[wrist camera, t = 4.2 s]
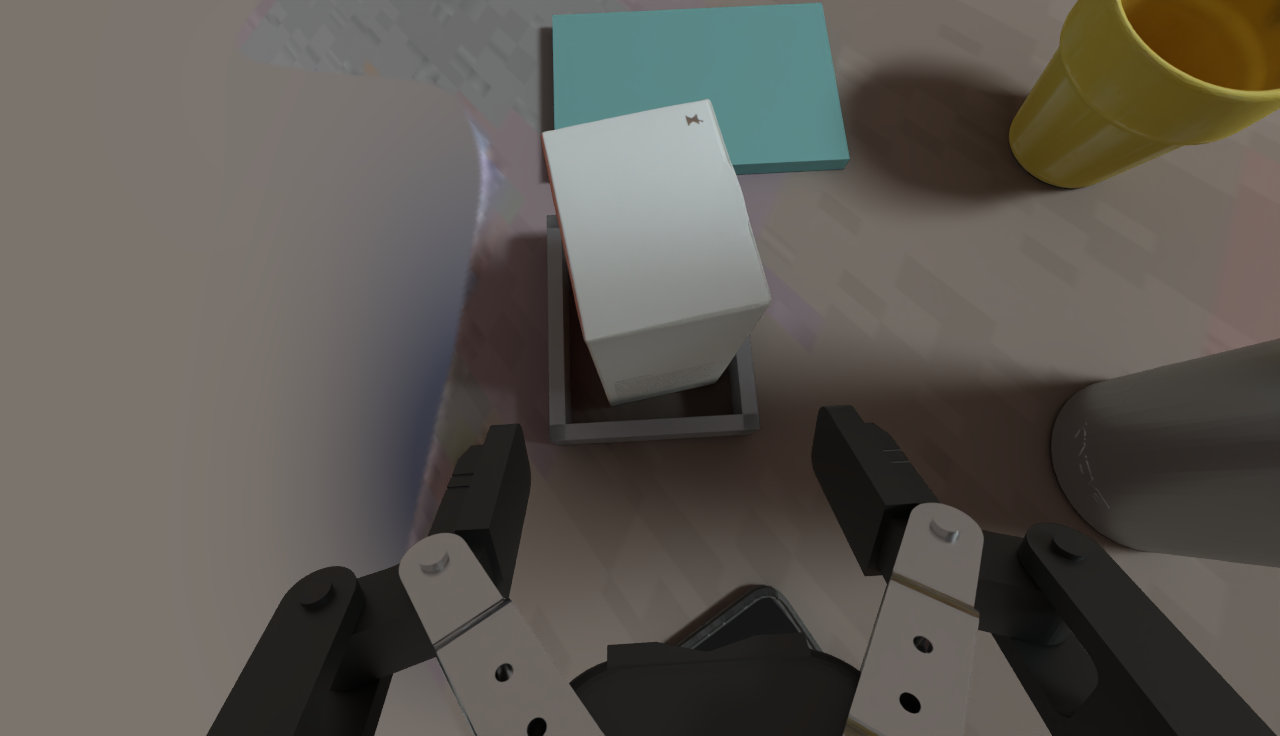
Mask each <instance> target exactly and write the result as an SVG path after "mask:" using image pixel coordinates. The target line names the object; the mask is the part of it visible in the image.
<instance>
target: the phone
mask: <svg viewBox="0 0 1280 736" xmlns="http://www.w3.org/2000/svg"><path fill="white" fill-rule="evenodd" d="M742 596H743V597H742ZM742 596H740V597H739V598H738V599H736V600H735V601H734V602H732V603H731V604H730V605H728V606H727V607H725V608H724V609H723V610H721V611H720V612H719V613H717V614H716V615H715V616H713V617H712V618H711V619H709V620H708V621H707V622H705V623H704V624H703V625H701V626H700V627H699V628H697V629H696V630H695V631H693V632H692V633H691V634H689V635H688V636H687V637H685V638H684V639H682V640H681V641H680V642H678V643H677V644H676V645H674V646H679V647H685V648H690V649H695V650H700V651H712V650H715V649H718V648H721V647H724V646H727V645H729V644H732V643H735V642H738V641H741V640H744V639H747V638H749V637H752V636H755V635H769V634H784V633H799V632H804V635H805V638H806V641H807V644H808V647H809V649H813V650H817V651H821V652H823V651H822V650H821V649H820V647H819V646H818V644H817V643H816V641H815V640H814V638H813V637H812V635H811V634H810V632H809V631H808V630H807V628H806V627H805V625H804V624H803V622H802V621H801V619H800V618H799V616H798V615H797V613H796V612H795V610H794V609H793V608H792V606H791V605H790V603H789V602H788V600H787V599H786V598H785V597H784V595H783V594H782V593H781V592H779V591H778V590H776V589H774V588H773V587H771V586H767V585H759V586H755V587H753V588H751V589H750V590H748V591H747V592H746V593H744V594H743V595H742ZM741 597H742V598H741Z"/></svg>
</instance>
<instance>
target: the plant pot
mask: <svg viewBox="0 0 1280 736" xmlns="http://www.w3.org/2000/svg"><path fill="white" fill-rule="evenodd" d="M1279 108H1280V0H1078V1H1077V3H1076V4H1075V5H1074V7H1073V8H1072V9H1071V11H1070V12H1069V14H1068V16H1067V18H1066V20H1065V22H1064V25H1063V28H1062V31H1061V36H1060V46H1059V48H1058V49H1057V51H1056V52H1055V54H1054V56H1053V57H1052V59H1051V60H1050V62H1049V64H1048V65H1047V67H1046V68H1045V70H1044V71H1043V73H1042V75H1041V76H1040V78H1039V79H1038V81H1037V83H1036V84H1035V86H1034V87H1033V89H1032V90H1031V92H1030V94H1029V95H1028V97H1027V98H1026V100H1025V101H1024V103H1023V105H1022V106H1021V108H1020V109H1019V111H1018V112H1017V114H1016V116H1015V117H1014V119H1013V121H1012V123H1011V126H1010V131H1009V143H1010V147H1011V149H1012V152H1013V154H1014V156H1015V157H1016V159H1017V160H1018V162H1019V163H1020V164H1021V166H1022V167H1023V168H1024V169H1025V170H1026V171H1028V172H1029V173H1030V174H1031V175H1033V176H1034V177H1036V178H1038V179H1039V180H1041V181H1043V182H1045V183H1048V184H1051V185H1054V186H1058V187H1064V188H1081V187H1087V186H1090V185H1094V184H1096V183H1098V182H1101V181H1103V180H1106V179H1108V178H1110V177H1113V176H1115V175H1117V174H1120V173H1122V172H1124V171H1126V170H1129V169H1131V168H1133V167H1136V166H1138V165H1140V164H1143V163H1145V162H1147V161H1150V160H1152V159H1154V158H1156V157H1159V156H1161V155H1163V154H1166V153H1168V152H1170V151H1173V150H1175V149H1177V148H1180V147H1182V146H1184V145H1198V144H1205V143H1210V142H1214V141H1217V140H1221V139H1224V138H1226V137H1228V136H1231V135H1233V134H1235V133H1237V132H1239V131H1241V130H1242V129H1244V128H1246V127H1248V126H1250V125H1252V124H1253V123H1255V122H1257V121H1259V120H1260V119H1262V118H1264V117H1266V116H1267V115H1269V114H1271V113H1273V112H1274V111H1276V110H1278V109H1279Z"/></svg>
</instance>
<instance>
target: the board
mask: <svg viewBox="0 0 1280 736" xmlns="http://www.w3.org/2000/svg"><path fill="white" fill-rule="evenodd" d="M552 18H553V73H554V128H555V130H556V129H561V128H565V127H570V126H574V125H579V124H584V123H589V122H594V121H599V120H603V119H608V118H613V117H618V116H622V115H627V114H632V113H637V112H642V111H647V110H652V109H657V108H662V107H668V106H673V105H678V104H684V103H690V102H696V101H701V100H705V99H709V100H710V101H711V103H712V106H713V109H714V113H715V116H716V119H717V122H718V125H719V128H720V131H721V134H722V137H723V140H724V143H725V146H726V149H727V152H728V156H729V158H730V161H731V164H732V166H733V168H734V170H735V173H736V175H737V174H756V173H776V172H796V171H816V170H836V169H844V167H845V166H846V164H847V163H848V161H849V159H850V157H849V152H848V146H847V141H846V135H845V130H844V124H843V118H842V113H841V107H840V102H839V96H838V90H837V85H836V79H835V74H834V68H833V63H832V57H831V51H830V46H829V40H828V35H827V29H826V23H825V18H824V12H823V7H822V3H807V4H785V5H764V6H742V7H721V8H699V9H678V10H656V11H634V12H613V13H591V14H570V15H552Z"/></svg>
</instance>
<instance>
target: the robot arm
mask: <svg viewBox="0 0 1280 736" xmlns="http://www.w3.org/2000/svg"><path fill="white" fill-rule="evenodd" d="M1051 453H1052V460H1053V467H1054V470H1055V473H1056V476H1057V479H1058V481H1059V484H1060V486H1061V488H1062V490H1063V492H1064V493H1065V495H1066V497H1067V499H1068V500H1069V502H1070V504H1071V505H1072V506H1073V507H1074V508H1075V510H1076V511H1077V512H1078V513H1079V514H1080V516H1081V517H1082V518H1083V519H1084V520H1085V521H1086V522H1087V523H1089V524H1090V525H1091V526H1092V527H1093V528H1095V529H1096V530H1097V531H1098V532H1099V533H1101V534H1103V535H1104V536H1106V537H1108V538H1110V539H1111V540H1113V541H1115V542H1116V543H1119V544H1121V545H1124V546H1127V547H1130V548H1133V549H1135V550H1141V551H1147V552H1154V553H1162V554H1171V555H1179V556H1188V557H1196V558H1204V559H1213V560H1221V561H1228V562H1235V563H1244V564H1252V565H1261V566H1269V567H1278V568H1280V338H1279V339H1275V340H1271V341H1267V342H1263V343H1259V344H1255V345H1250V346H1246V347H1242V348H1238V349H1234V350H1230V351H1226V352H1221V353H1217V354H1213V355H1209V356H1205V357H1201V358H1197V359H1193V360H1188V361H1184V362H1180V363H1176V364H1171V365H1166V366H1162V367H1158V368H1154V369H1150V370H1146V371H1142V372H1138V373H1134V374H1130V375H1126V376H1122V377H1118V378H1114V379H1110V380H1106V381H1102V382H1098V383H1095V384H1091V385H1089V386H1087V387H1085V388H1083V389H1082V390H1080V391H1078V392H1076V393H1075V394H1074V395H1073V396H1072V397H1071V398H1070V399H1069V400H1068V401H1067V402H1066V403H1065V404H1064V406H1063V408H1062V409H1061V411H1060V413H1059V414H1058V416H1057V418H1056V421H1055V425H1054V428H1053V431H1052V442H1051ZM811 458H812V466H813V470H814V473H815V475H816V477H817V479H818V481H819V483H820V485H821V487H822V490H823V492H824V494H825V496H826V498H827V500H828V502H829V504H830V506H831V508H832V510H833V512H834V514H835V516H836V518H837V520H838V522H839V524H840V526H841V528H842V530H843V533H844V535H845V537H846V539H847V541H848V543H849V545H850V547H851V549H852V551H853V553H854V555H855V557H856V559H857V561H858V563H859V565H860V567H861V569H862V571H863V573H864V576H878V575H883V577H884V579H885V581H886V583H887V586H886V589H885V592H884V595H883V598H882V601H881V605H880V608H879V611H878V614H877V617H876V621H875V624H874V627H873V630H872V633H871V637H870V640H869V643H868V646H867V649H866V652H865V656H864V659H863V662H862V665H861V668H860V671H859V670H857V669H856V668H854V667H853V666H851V665H849V664H848V663H846V662H844V661H842V660H841V659H838V658H836V657H834V656H832V655H829V654H827V653H824V652H821V651H817V650H813V649H809V647H808V644H807V641H806V638H805V635H804V632H799V633H784V634H769V635H755V636H752V637H749V638H747V639H744V640H741V641H738V642H735V643H732V644H729V645H727V646H724V647H721V648H718V649H715V650H712V651H700V650H695V649H690V648H685V647H679V646H674V645H669V644H664V643H659V642H648V643H633V644H617V645H607V661H606V662H603V663H601V664H598V665H596V666H594V667H592V668H590V669H588V670H586V671H585V672H583V673H582V674H580V675H579V676H577V677H576V678H574V679H573V680H572V681H571V682H570V683H568V681H567V680H566V679H565V677H564V676H563V674H562V673H561V671H560V670H559V668H558V667H557V665H556V664H555V662H554V661H553V660H552V658H551V657H550V655H549V654H548V652H547V651H546V649H545V648H544V646H543V645H542V643H541V642H540V640H539V639H538V638H537V636H536V635H535V633H534V632H533V630H532V629H531V627H530V626H529V624H528V623H527V621H526V620H525V619H524V617H523V616H522V614H521V613H520V611H519V610H518V608H517V607H516V605H515V604H514V603H513V602H512V600H511V599H509V594H510V589H511V584H512V579H513V574H514V569H515V564H516V559H517V553H518V548H519V543H520V538H521V533H522V528H523V523H524V518H525V513H526V508H527V503H528V498H529V493H530V486H531V473H530V465H529V460H528V456H527V451H526V446H525V441H524V436H523V431H522V427H521V425H520V424H507V425H492V426H491V427H490V428H489V431H488V434H487V437H486V440H485V443H484V445H475V446H471V447H470V448H469V449H468V450H467V451H466V452H465V453H464V454H463V455H462V456H461V457H460V458H459V459H458V461H457V464H456V466H455V469H454V471H453V474H452V478H451V479H450V481H449V484H448V486H447V490H446V492H445V494H444V497H443V499H442V502H441V504H440V507H439V509H438V512H437V514H436V517H435V519H434V522H433V524H432V527H431V529H430V532H429V535H428V537H426V538H424V539H422V540H421V541H419V542H417V543H416V544H415V545H413V546H412V547H411V548H410V549H409V550H408V551H407V552H406V554H405V555H404V556H403V558H402V560H401V562H400V564H398V565H396V566H393V567H390V568H388V569H385V570H382V571H379V572H376V573H373V574H370V575H366V576H364V577H360V578H356V576H355V574H354V573H353V572H352V571H351V570H350V569H348V568H345V567H341V566H333V567H327V568H323V569H320V570H317V571H315V572H313V573H311V574H309V575H307V576H306V577H304V578H303V579H301V580H300V581H298V582H297V583H296V584H295V585H294V586H293V587H292V588H291V589H290V590H289V591H288V592H287V593H286V594H285V596H284V597H283V599H282V600H281V602H280V604H279V606H278V608H277V609H276V611H275V613H274V615H273V617H272V619H271V620H270V622H269V624H268V626H267V627H266V629H265V631H264V633H263V635H262V637H261V638H260V640H259V642H258V644H257V645H256V647H255V649H254V651H253V653H252V655H251V656H250V658H249V660H248V662H247V663H246V665H245V667H244V669H243V671H242V672H241V674H240V676H239V678H238V680H237V681H236V683H235V685H234V687H233V689H232V691H231V692H230V694H229V696H228V698H227V699H226V701H225V703H224V705H223V707H222V708H221V710H220V712H219V714H218V716H217V718H216V720H215V721H214V723H213V725H212V727H211V728H210V730H209V732H208V734H207V736H374V735H375V731H376V728H377V725H378V721H379V718H380V715H381V711H382V708H383V705H384V702H385V698H386V695H387V692H388V689H389V685H390V682H391V679H392V676H393V673H395V672H398V671H401V670H403V669H406V668H408V667H411V666H413V665H416V664H418V663H421V662H424V661H426V660H429V659H432V658H434V657H436V659H437V661H438V663H439V665H440V667H441V669H442V671H443V673H444V675H445V677H446V679H447V681H448V683H449V685H450V688H451V690H452V692H453V694H454V696H455V698H456V700H457V702H458V704H459V706H460V708H461V710H462V712H463V714H464V717H465V719H466V721H467V723H468V725H469V727H470V729H471V731H472V733H473V736H964V730H965V722H966V715H967V707H968V700H969V693H970V685H971V678H972V670H973V663H974V655H975V648H976V640H977V633H978V630H981V631H985V632H990V633H991V634H992V635H993V637H994V639H995V640H996V642H997V644H998V645H999V647H1000V649H1001V650H1002V652H1003V654H1004V655H1005V657H1006V659H1007V660H1008V662H1009V664H1010V665H1011V667H1012V669H1013V671H1014V672H1015V674H1016V676H1017V677H1018V679H1019V681H1020V682H1021V684H1022V686H1023V687H1024V689H1025V691H1026V692H1027V694H1028V696H1029V697H1030V699H1031V701H1032V702H1033V704H1034V706H1035V707H1036V709H1037V711H1038V712H1039V714H1040V716H1041V717H1042V719H1043V721H1044V723H1045V724H1046V726H1047V728H1048V729H1049V731H1050V733H1051V734H1052V736H1277V735H1276V734H1275V733H1274V732H1273V731H1272V730H1271V729H1270V728H1269V727H1268V726H1267V725H1266V724H1265V723H1264V721H1263V720H1262V719H1261V718H1260V717H1259V716H1258V715H1257V714H1256V713H1255V712H1254V711H1253V710H1252V709H1251V707H1250V706H1249V705H1248V704H1247V703H1246V702H1245V701H1244V700H1243V699H1242V698H1241V697H1240V696H1239V695H1238V693H1237V692H1236V691H1235V690H1234V689H1233V688H1232V687H1231V686H1230V685H1229V684H1228V683H1227V682H1226V681H1225V679H1224V678H1223V677H1222V676H1221V675H1220V674H1219V673H1218V672H1217V671H1216V670H1215V669H1214V668H1213V667H1212V666H1211V664H1210V663H1209V662H1208V661H1207V660H1206V659H1205V658H1204V657H1203V656H1202V655H1201V654H1200V653H1199V652H1198V650H1197V649H1196V648H1195V647H1194V646H1193V645H1192V644H1191V643H1190V642H1189V641H1188V640H1187V639H1186V638H1185V636H1184V635H1183V634H1182V633H1181V632H1180V631H1179V630H1178V629H1177V628H1176V627H1175V626H1174V625H1173V624H1172V622H1171V621H1170V620H1169V619H1168V618H1167V617H1166V616H1165V615H1164V614H1163V613H1162V612H1161V611H1160V610H1159V608H1158V607H1157V606H1156V605H1155V604H1154V603H1153V602H1152V601H1151V600H1150V599H1149V598H1148V597H1147V596H1146V594H1145V593H1144V592H1143V591H1142V590H1141V589H1140V588H1139V587H1138V586H1137V585H1136V584H1135V583H1134V582H1133V580H1132V579H1131V578H1130V577H1129V576H1128V575H1127V574H1126V573H1125V572H1124V571H1123V570H1122V569H1121V568H1120V567H1119V565H1118V564H1117V563H1116V562H1115V561H1114V560H1113V559H1112V558H1111V557H1110V556H1109V555H1108V554H1107V553H1106V551H1105V550H1104V549H1103V548H1102V547H1101V546H1100V545H1099V544H1097V543H1096V542H1095V541H1093V540H1092V539H1091V538H1089V537H1088V536H1086V535H1084V534H1082V533H1081V532H1079V531H1076V530H1074V529H1072V528H1069V527H1066V526H1063V525H1059V524H1053V523H1039V524H1035V525H1033V526H1031V527H1030V528H1029V529H1028V531H1027V533H1026V535H1025V537H1024V538H1020V537H1015V536H1010V535H1004V534H999V533H993V532H988V531H984V530H981V529H980V527H979V526H978V524H977V523H976V522H975V521H974V520H973V519H972V518H971V517H969V516H968V515H967V514H965V513H964V512H962V511H960V510H958V509H956V508H954V507H951V506H948V505H945V504H941V503H940V502H939V501H938V499H937V498H936V497H935V495H934V494H933V493H932V491H931V490H930V488H929V487H928V486H927V484H926V483H925V482H924V480H923V479H922V478H921V476H920V475H919V474H918V472H917V471H916V470H915V468H914V467H913V466H912V464H911V463H909V462H908V459H907V457H906V456H905V455H904V453H903V452H902V451H900V448H899V447H898V445H897V444H896V443H895V441H894V440H893V439H892V437H891V436H890V435H889V434H888V433H887V432H885V431H884V430H882V429H881V428H880V427H878V426H877V425H875V424H874V423H864V422H863V420H862V419H861V418H860V416H859V415H858V413H857V412H856V410H855V409H854V408H853V407H852V406H851V405H842V406H825V407H821V408H820V410H819V412H818V417H817V423H816V429H815V434H814V440H813V446H812V453H811ZM504 598H506V599H504ZM1071 631H1072V632H1071ZM1073 634H1074V635H1075V636H1074V635H1073ZM1076 638H1077V639H1078V640H1077V639H1076ZM1079 642H1080V643H1079ZM1082 646H1083V647H1082ZM1085 650H1086V651H1085ZM1087 653H1088V654H1089V655H1088V654H1087ZM1090 657H1091V658H1090Z"/></svg>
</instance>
